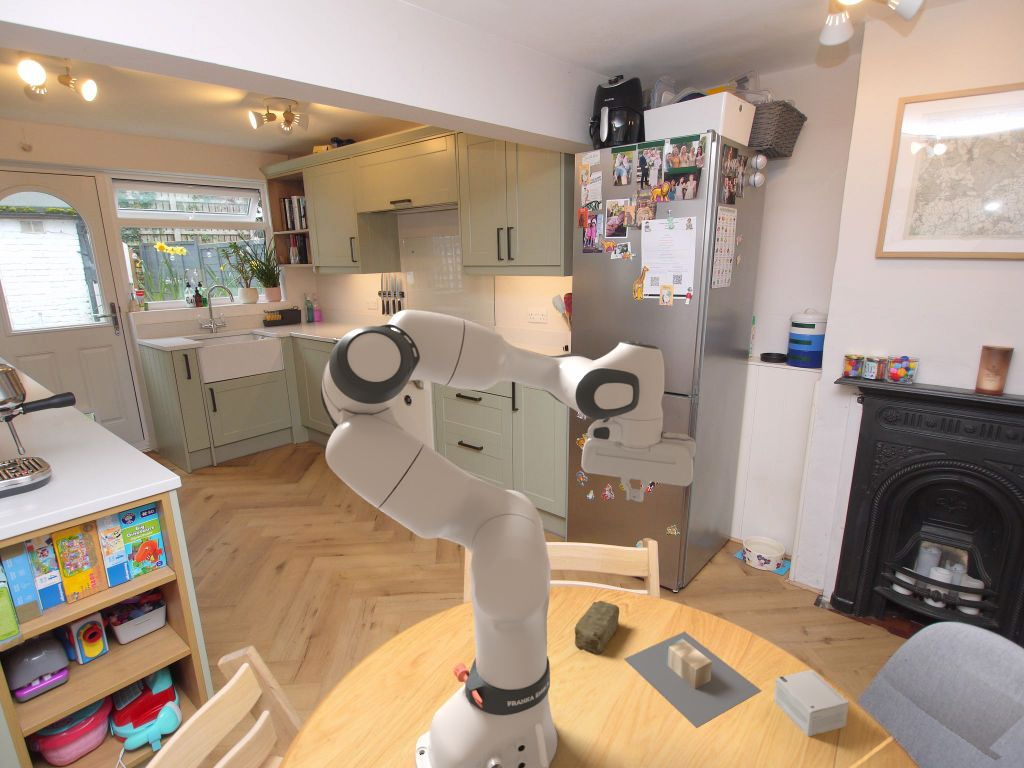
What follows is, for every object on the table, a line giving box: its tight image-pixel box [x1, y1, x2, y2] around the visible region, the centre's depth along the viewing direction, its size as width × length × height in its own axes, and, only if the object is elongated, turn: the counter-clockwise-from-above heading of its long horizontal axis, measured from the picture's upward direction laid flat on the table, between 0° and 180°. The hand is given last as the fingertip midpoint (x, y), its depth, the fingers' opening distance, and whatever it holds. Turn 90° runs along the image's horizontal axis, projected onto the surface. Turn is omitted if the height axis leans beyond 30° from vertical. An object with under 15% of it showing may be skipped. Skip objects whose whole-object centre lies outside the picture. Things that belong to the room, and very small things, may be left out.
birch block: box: [666, 639, 712, 689], centre depth 97 cm, size 4×4×7 cm
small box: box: [773, 669, 850, 737], centre depth 88 cm, size 8×8×5 cm
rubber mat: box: [623, 631, 762, 729], centre depth 97 cm, size 16×18×1 cm
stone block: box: [574, 600, 620, 655], centre depth 108 cm, size 6×12×5 cm, turn 149°
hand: (634, 499), depth 100 cm, fingers closed
